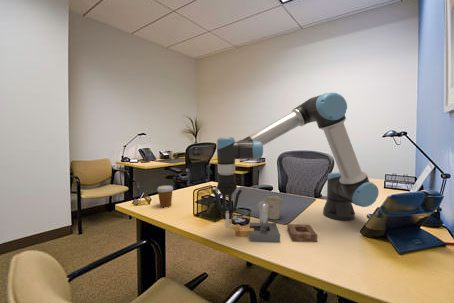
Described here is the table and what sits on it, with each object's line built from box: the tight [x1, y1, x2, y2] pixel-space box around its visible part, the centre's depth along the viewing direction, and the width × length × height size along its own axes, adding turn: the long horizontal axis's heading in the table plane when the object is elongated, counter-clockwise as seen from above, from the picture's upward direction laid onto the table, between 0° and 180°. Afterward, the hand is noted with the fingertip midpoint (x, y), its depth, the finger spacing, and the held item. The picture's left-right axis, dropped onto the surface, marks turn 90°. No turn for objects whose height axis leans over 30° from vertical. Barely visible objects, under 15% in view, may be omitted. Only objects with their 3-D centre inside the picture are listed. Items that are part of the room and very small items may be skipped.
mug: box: [257, 196, 283, 220], centre depth 117 cm, size 8×13×10 cm, turn 78°
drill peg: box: [259, 202, 269, 231], centre depth 96 cm, size 4×4×14 cm
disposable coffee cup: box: [156, 185, 174, 208], centre depth 136 cm, size 10×10×12 cm
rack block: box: [286, 223, 318, 243], centre depth 96 cm, size 10×10×3 cm
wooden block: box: [234, 224, 254, 237], centre depth 97 cm, size 8×3×4 cm, turn 86°
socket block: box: [248, 222, 281, 243], centre depth 97 cm, size 12×12×3 cm
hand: (227, 226), depth 98 cm, fingers closed
